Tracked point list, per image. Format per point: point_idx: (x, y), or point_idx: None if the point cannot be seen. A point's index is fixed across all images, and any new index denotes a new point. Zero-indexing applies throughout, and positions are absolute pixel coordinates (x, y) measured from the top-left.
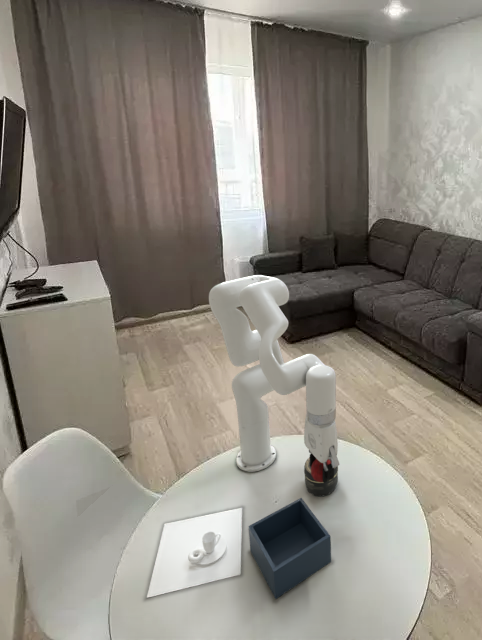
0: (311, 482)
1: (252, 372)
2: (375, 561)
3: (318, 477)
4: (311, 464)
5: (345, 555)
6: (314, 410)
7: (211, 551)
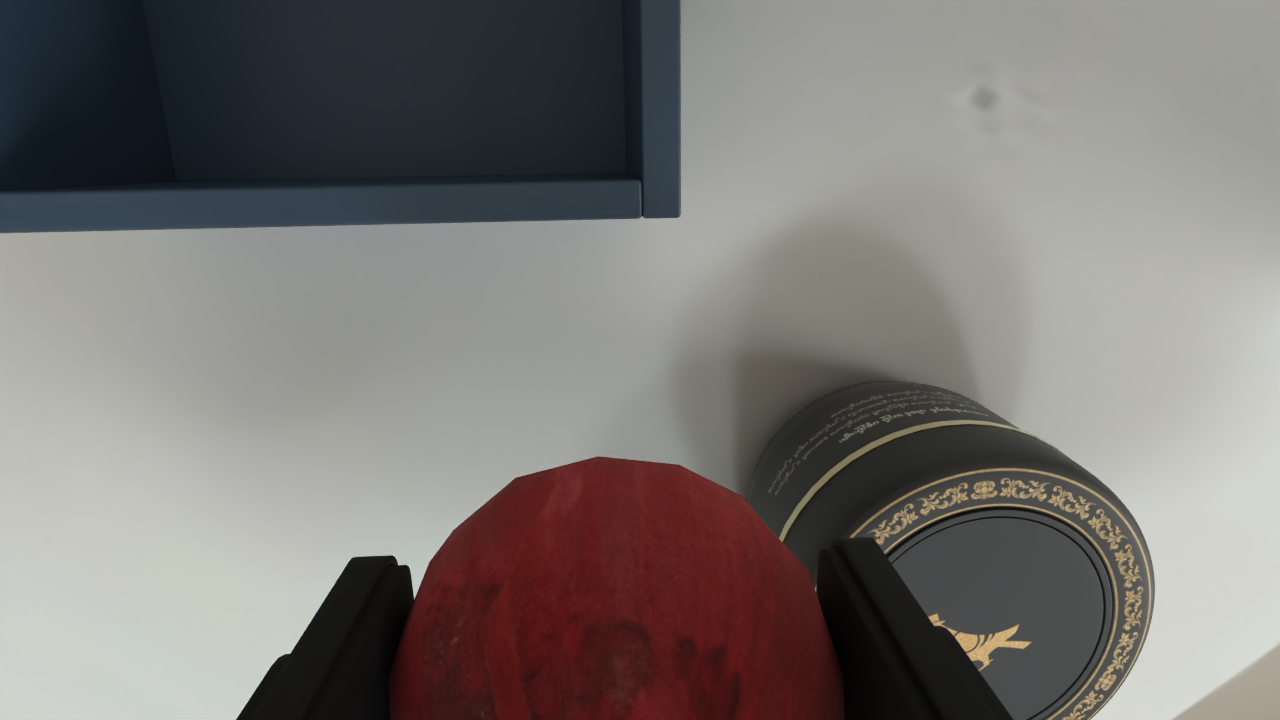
0: (874, 434)
1: None
2: (16, 480)
3: (462, 540)
4: (844, 585)
5: (166, 328)
6: None
7: None
